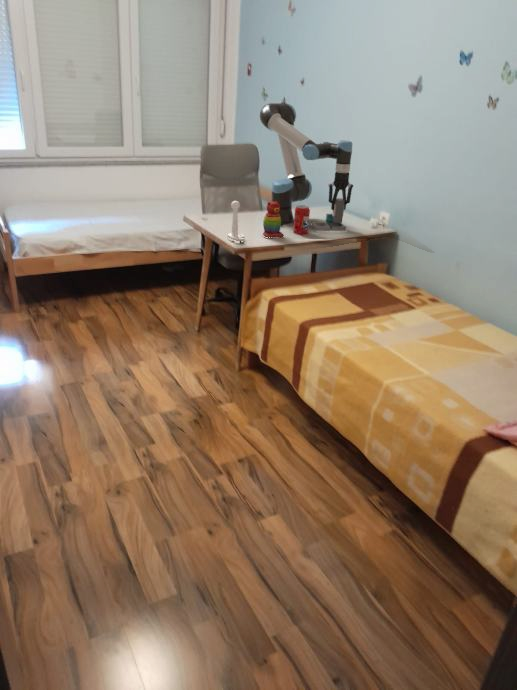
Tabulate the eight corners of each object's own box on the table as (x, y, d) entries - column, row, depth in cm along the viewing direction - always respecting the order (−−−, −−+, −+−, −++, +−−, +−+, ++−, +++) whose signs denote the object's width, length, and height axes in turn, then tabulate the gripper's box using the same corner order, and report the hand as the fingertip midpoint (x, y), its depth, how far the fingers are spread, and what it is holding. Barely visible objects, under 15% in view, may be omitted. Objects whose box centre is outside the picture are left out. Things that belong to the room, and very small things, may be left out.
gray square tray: (317, 234, 284) (317, 228, 282) (309, 225, 298) (310, 220, 297) (347, 234, 286) (348, 228, 285) (338, 225, 301) (338, 220, 300)
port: (331, 230, 288) (332, 219, 285) (325, 224, 299) (326, 213, 296) (345, 230, 289) (346, 219, 286) (338, 224, 300) (339, 213, 297)
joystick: (225, 238, 270) (226, 198, 260) (238, 236, 273) (239, 197, 264) (236, 244, 262) (237, 203, 252) (249, 242, 265) (250, 202, 256)
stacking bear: (266, 239, 271) (268, 204, 263) (258, 233, 279) (260, 200, 271) (285, 237, 275) (287, 203, 267) (276, 232, 283) (278, 199, 275)
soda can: (291, 232, 284) (293, 204, 277) (305, 232, 286) (307, 204, 279) (295, 236, 277) (297, 208, 270) (309, 236, 279) (312, 208, 272)
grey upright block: (335, 222, 288) (337, 200, 282) (331, 219, 293) (334, 198, 288) (342, 222, 289) (344, 200, 283) (338, 219, 294) (341, 198, 288)
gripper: (328, 172, 274) (324, 217, 285) (359, 173, 276) (354, 217, 287) (324, 170, 280) (320, 214, 291) (355, 170, 283) (350, 214, 294)
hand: (337, 215), depth 289 cm, fingers closed on grey upright block, 4 cm apart
